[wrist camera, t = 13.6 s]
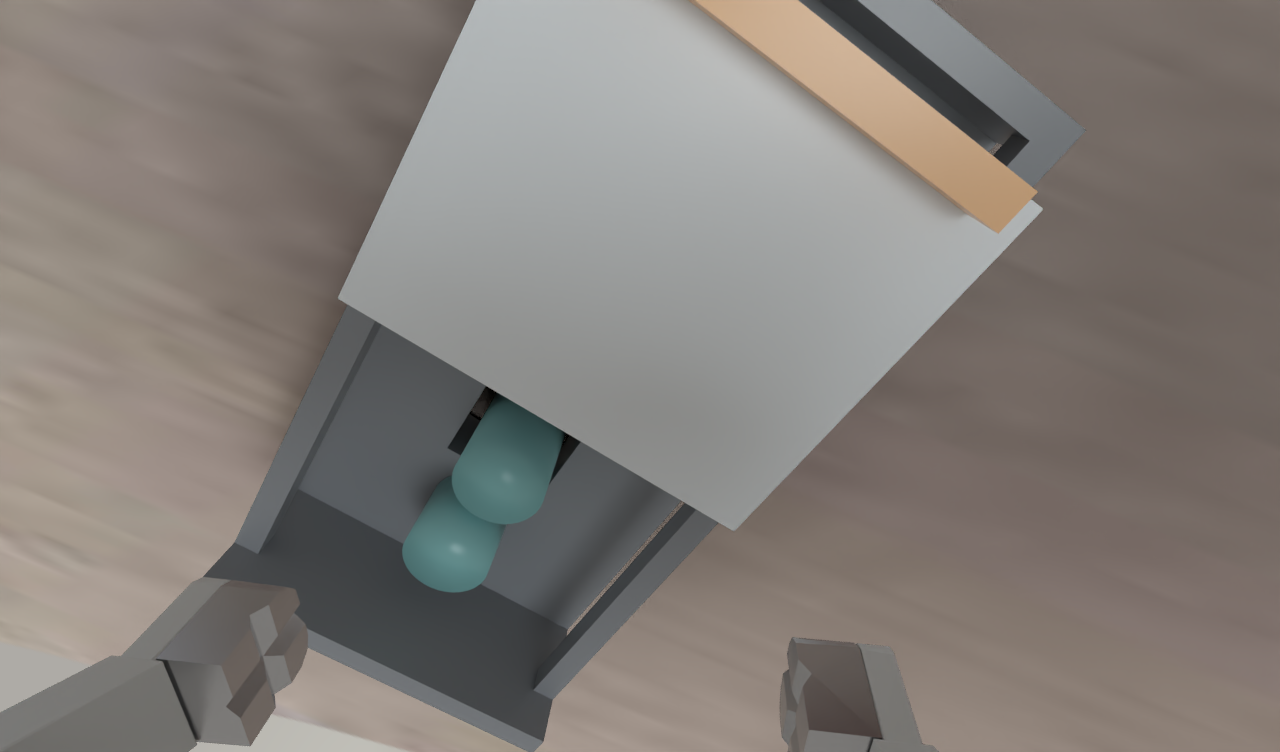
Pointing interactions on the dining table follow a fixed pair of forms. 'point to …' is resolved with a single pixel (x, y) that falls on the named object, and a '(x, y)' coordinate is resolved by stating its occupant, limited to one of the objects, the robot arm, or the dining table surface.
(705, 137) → the lid
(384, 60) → the dining table surface
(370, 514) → the housing
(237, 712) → the robot arm
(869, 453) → the dining table surface
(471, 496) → the teal rounded capsule
